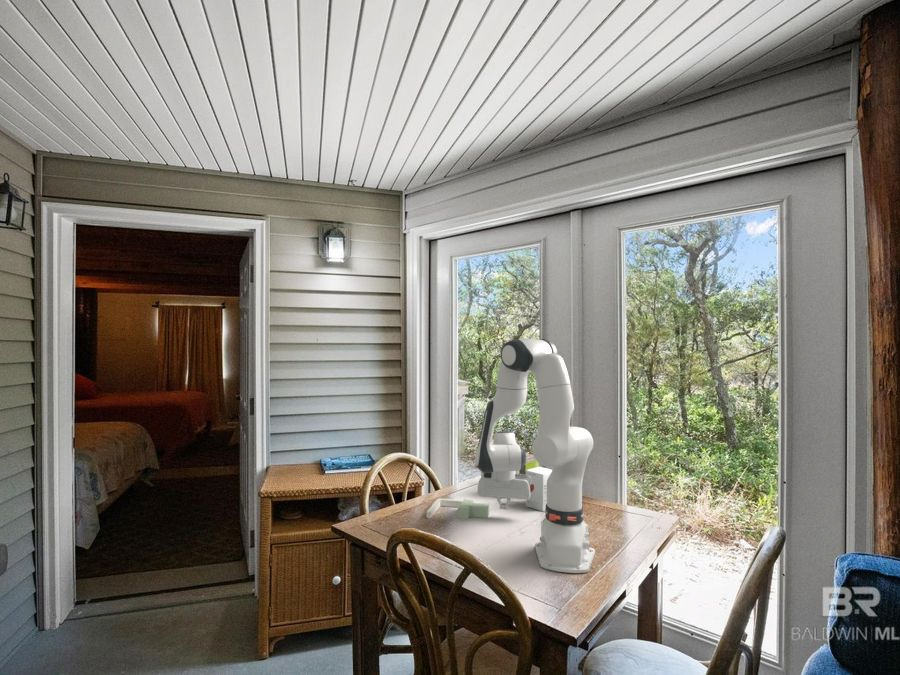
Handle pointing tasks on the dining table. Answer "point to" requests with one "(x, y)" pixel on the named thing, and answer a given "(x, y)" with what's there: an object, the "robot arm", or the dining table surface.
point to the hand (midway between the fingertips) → (503, 508)
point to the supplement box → (538, 487)
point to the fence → (442, 502)
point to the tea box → (529, 463)
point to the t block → (472, 509)
